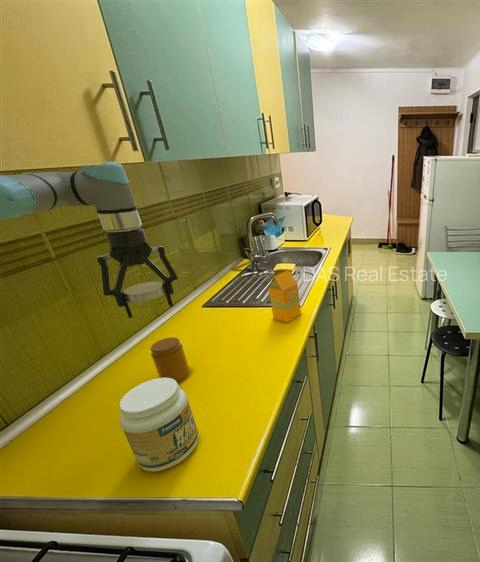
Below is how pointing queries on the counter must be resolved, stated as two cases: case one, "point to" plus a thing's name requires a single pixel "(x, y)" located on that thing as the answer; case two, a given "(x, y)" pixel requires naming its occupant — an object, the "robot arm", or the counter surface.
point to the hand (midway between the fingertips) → (151, 310)
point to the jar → (170, 359)
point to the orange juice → (284, 297)
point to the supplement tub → (158, 424)
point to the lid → (144, 292)
